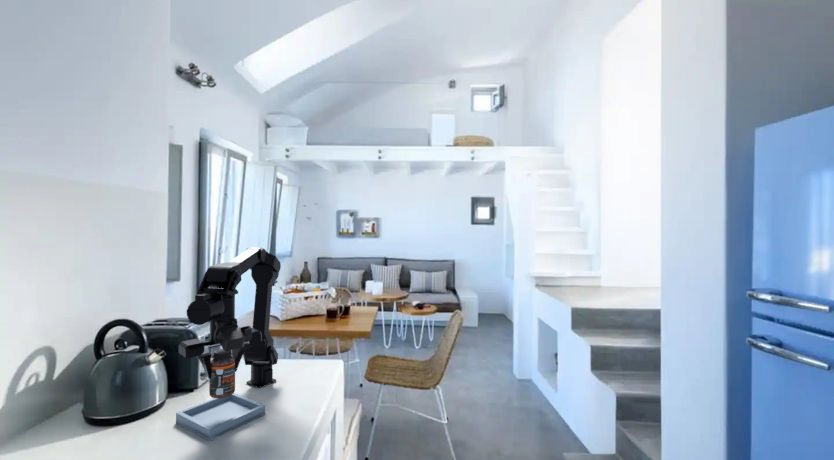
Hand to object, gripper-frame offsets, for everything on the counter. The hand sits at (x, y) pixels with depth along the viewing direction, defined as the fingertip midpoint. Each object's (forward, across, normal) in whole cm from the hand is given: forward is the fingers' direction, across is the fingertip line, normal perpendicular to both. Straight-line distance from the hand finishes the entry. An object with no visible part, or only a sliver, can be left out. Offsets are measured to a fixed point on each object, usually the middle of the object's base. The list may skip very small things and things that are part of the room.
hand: (222, 374), depth 101 cm
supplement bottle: (+5, 0, 0) cm, 5 cm away
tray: (+11, 0, 0) cm, 11 cm away
